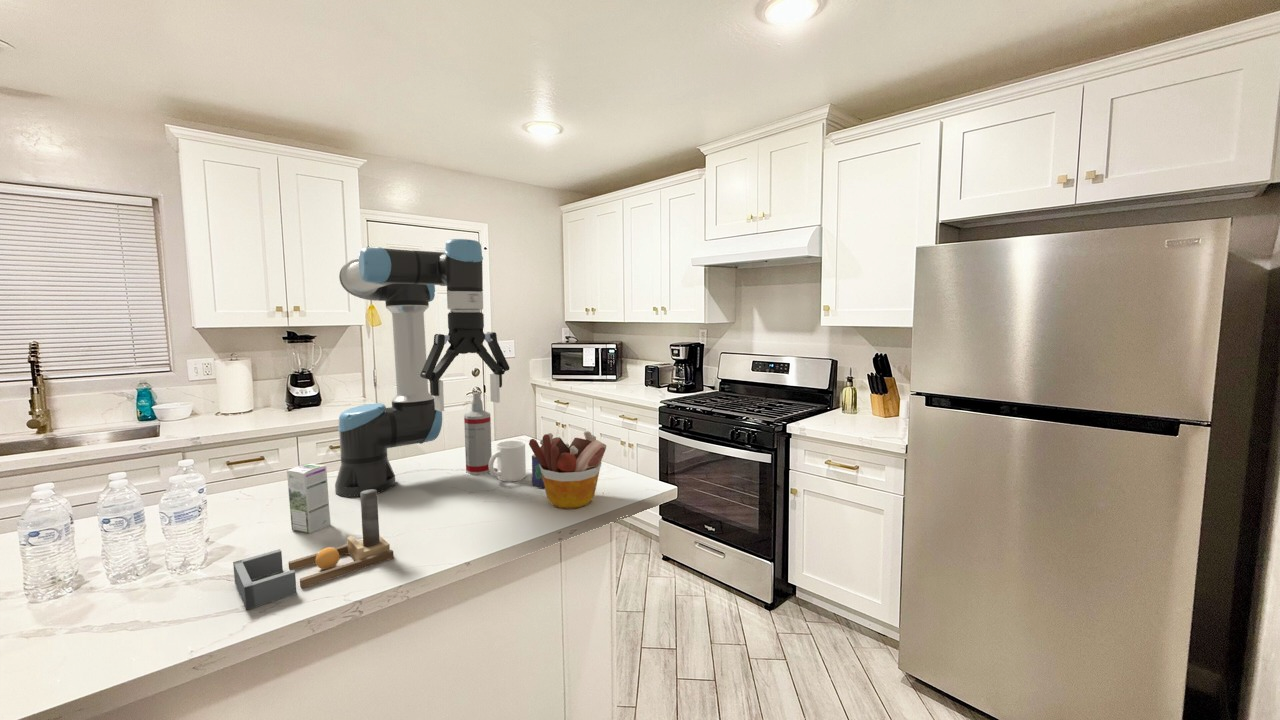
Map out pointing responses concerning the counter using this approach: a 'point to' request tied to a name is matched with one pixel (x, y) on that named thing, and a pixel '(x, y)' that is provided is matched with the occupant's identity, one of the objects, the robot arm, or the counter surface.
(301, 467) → the syrup box
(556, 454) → the bucket of meat
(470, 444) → the spray bottle
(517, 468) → the mug
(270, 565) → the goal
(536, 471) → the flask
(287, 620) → the counter surface
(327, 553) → the ball
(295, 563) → the rails
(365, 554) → the carriage
